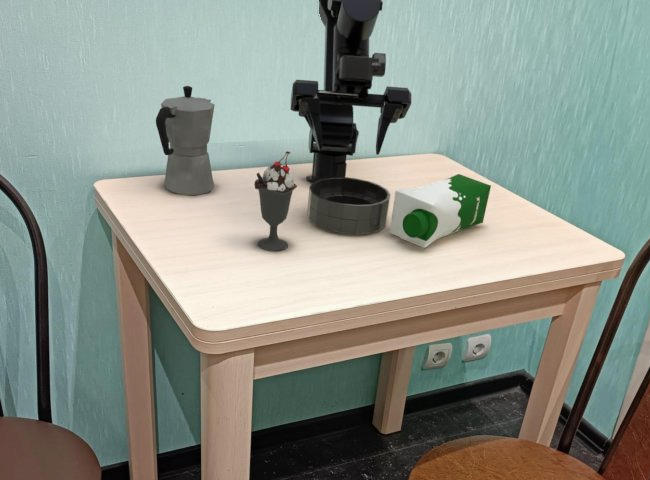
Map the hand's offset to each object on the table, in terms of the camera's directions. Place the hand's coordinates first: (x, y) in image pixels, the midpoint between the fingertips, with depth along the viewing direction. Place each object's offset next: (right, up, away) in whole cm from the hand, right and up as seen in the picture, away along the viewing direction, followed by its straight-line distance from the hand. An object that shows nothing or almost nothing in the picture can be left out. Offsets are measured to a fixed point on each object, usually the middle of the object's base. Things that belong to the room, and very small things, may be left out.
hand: (349, 151), depth 120 cm
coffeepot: (-30, 0, +21) cm, 37 cm away
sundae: (-12, -14, +3) cm, 19 cm away
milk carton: (+23, -3, +18) cm, 29 cm away
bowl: (0, -8, +15) cm, 17 cm away
